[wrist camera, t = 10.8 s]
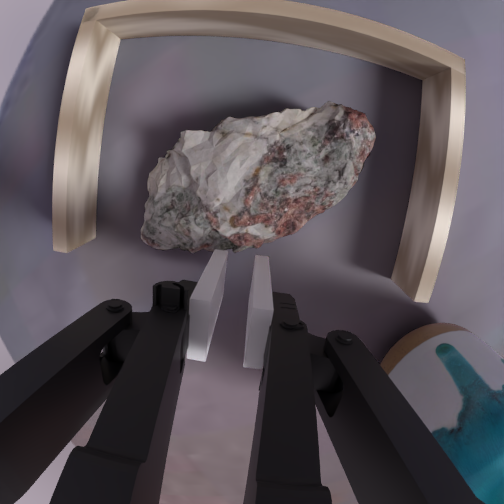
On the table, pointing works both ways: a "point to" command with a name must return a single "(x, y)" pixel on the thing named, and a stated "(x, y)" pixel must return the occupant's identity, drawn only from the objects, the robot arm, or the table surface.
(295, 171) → the mineral rock
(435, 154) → the u-shaped wooden frame
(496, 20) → the table surface
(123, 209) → the table surface
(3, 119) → the table surface
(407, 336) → the vase
